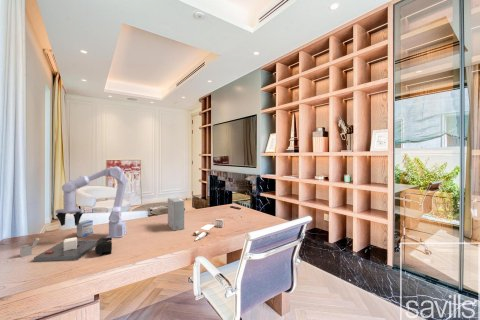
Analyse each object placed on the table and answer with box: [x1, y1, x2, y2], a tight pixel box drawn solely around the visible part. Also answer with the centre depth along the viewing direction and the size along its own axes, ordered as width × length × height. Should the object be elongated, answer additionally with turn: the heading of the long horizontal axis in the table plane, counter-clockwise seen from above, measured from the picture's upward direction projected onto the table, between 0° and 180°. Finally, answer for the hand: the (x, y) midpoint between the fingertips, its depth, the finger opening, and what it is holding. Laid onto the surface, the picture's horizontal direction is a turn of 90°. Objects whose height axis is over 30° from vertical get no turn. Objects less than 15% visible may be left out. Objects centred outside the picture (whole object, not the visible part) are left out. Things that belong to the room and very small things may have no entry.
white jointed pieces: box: [192, 218, 225, 242], centre depth 145 cm, size 10×6×30 cm
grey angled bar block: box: [19, 237, 40, 258], centre depth 112 cm, size 7×2×8 cm, turn 130°
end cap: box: [94, 236, 113, 257], centre depth 115 cm, size 10×7×7 cm
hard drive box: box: [167, 197, 185, 231], centre depth 156 cm, size 16×8×20 cm, turn 34°
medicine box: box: [76, 219, 94, 238], centre depth 139 cm, size 8×4×9 cm, turn 168°
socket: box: [33, 239, 98, 262], centre depth 115 cm, size 20×20×2 cm
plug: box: [63, 236, 78, 251], centre depth 115 cm, size 5×5×6 cm
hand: (69, 225), depth 128 cm, fingers open, 7 cm apart
